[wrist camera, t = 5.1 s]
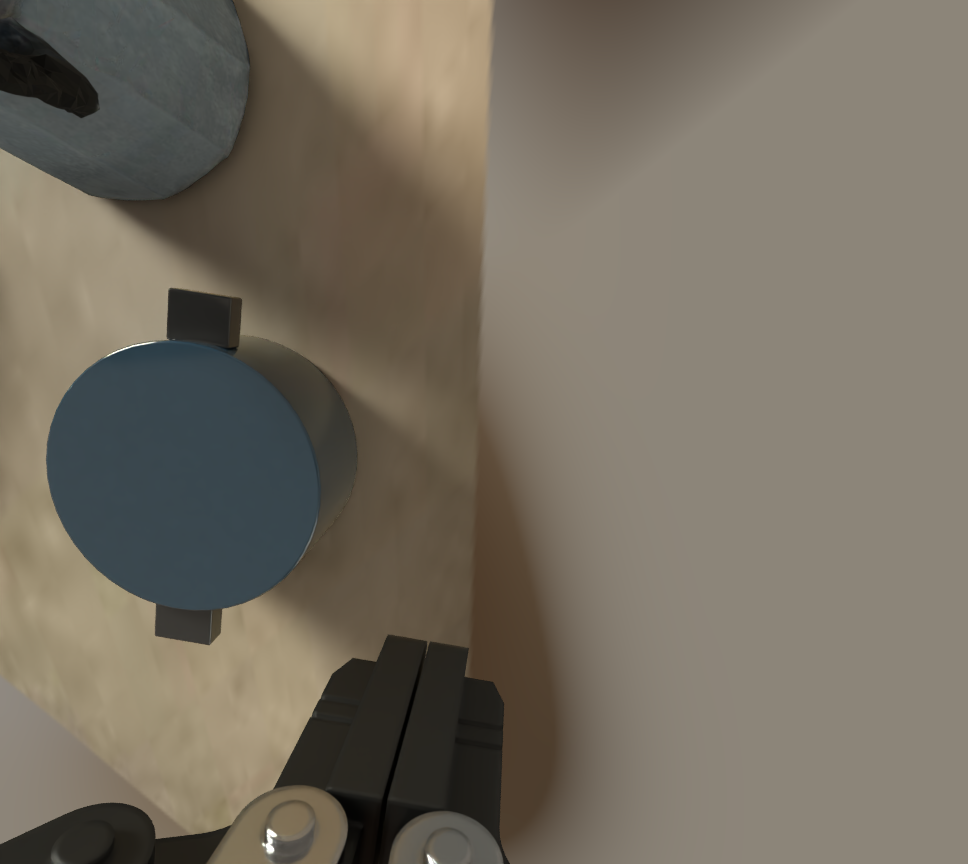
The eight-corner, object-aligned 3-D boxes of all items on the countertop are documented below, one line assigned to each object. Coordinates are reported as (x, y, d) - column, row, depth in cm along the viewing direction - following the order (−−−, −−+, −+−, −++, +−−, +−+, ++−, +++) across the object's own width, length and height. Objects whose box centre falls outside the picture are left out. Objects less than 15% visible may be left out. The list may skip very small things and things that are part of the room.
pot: (130, 570, 24) (45, 627, 20) (138, 277, 22) (43, 268, 17) (341, 606, 24) (303, 671, 20) (374, 314, 22) (338, 315, 17)
